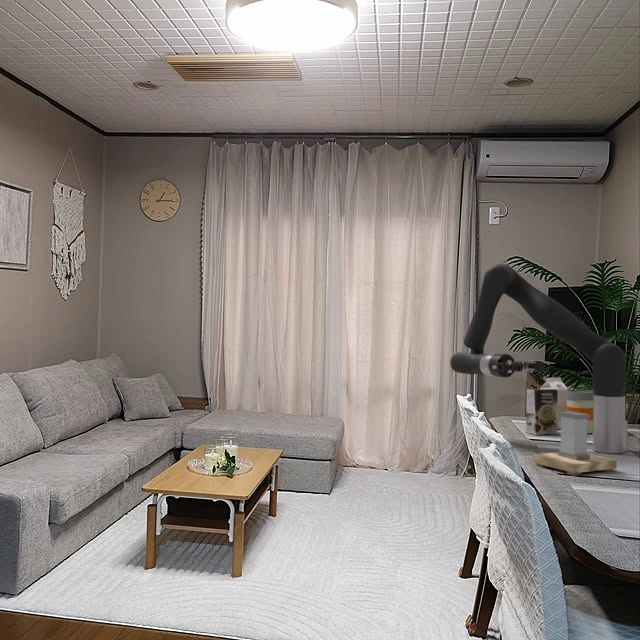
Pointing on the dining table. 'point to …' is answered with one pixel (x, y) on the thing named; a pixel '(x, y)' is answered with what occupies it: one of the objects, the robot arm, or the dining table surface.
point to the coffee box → (541, 411)
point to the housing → (574, 435)
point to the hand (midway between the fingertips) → (532, 367)
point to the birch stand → (575, 463)
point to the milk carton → (562, 400)
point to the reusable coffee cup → (581, 404)
